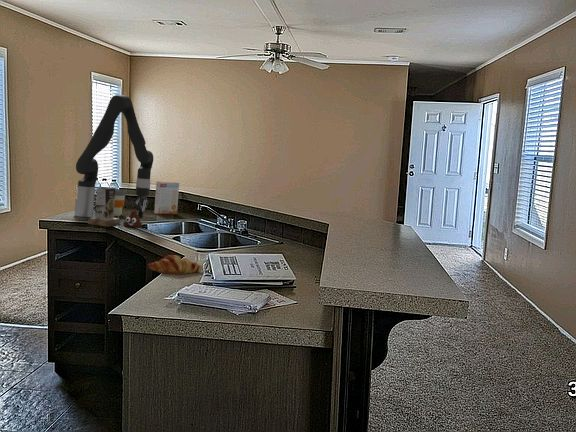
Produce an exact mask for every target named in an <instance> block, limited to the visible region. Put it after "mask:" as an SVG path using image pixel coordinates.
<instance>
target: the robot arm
mask: <svg viewBox="0 0 576 432" xmlns="http://www.w3.org/2000/svg"><path fill="white" fill-rule="evenodd" d="M121 113H122V115H123V116H124V118H125V120H126V126H127V135H128V137H129V139H130V142H131V144H132V146H133V150H134V154H135V157H136V159H137V161H138V162H139V163H140V165H139V167H138V169H137V174H136V176H137V177H136V181H135V183H136V184H135V192H134V193H135V195H136V196H137V199H136V201H135V202H134V205H135V208H136V209H135V210H136V211H138V213H137V215H138V216H139V219H143V218H144V212H145V211H146V210H147V207H148V205H149V202H150V201H149V200H148V198H147V197H149V196H150V194H151V193H150V191H151V174H152V172H151V171H152V167H153V163H154V154H153V152H152V151H150V150H147V146H146V139H145V137H144V134H143V132H142V131H141V128H140V126H139V123H138V119H137V117H136V112H135V109H134V104H133V102H132V100H131V98H130V97H129V95H125V94H115V95H113V96H111V98H110V99H109V102H108V105H107V107H106V110H105V112H104V114H103V117H102V118H101V120H100V122H99V124H98V125H97V127H96V128H95V131H94V133H93V134H92V137H91V139H90V140H89V142H88V144H87V145H86V147H85V149H84V150H83V151H82V153H81V155H80V157H78V159H77V161H76V164H75V169H76V172H77V173H78V174H80V175H83V177H82V178H81V179H80V180H78V182H77V194H76V196H77V197H76V198H75V200H74V215H73V216H75V217H79V218H92V217H94V207H95V193H96V190H95V188H96V183H97V182H98V176H99V175H98V173H99V163H98V161H97V159H95V157H96V156H97V155H98V154H99V153H100V152H101V151H102V150H104V149H105V148H106V147H107V146H108V145H109V143H110V141H111V140H112V138H113V135H114V132H115V123H116V120H117V119H118V118H119V116H120V115H121Z"/></svg>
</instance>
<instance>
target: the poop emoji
mask: <svg viewBox="0 0 576 432" xmlns="http://www.w3.org/2000/svg"><path fill="white" fill-rule="evenodd" d="M122 224H123V226H124V227H125V228H126V227H127V228H128V227H131V228H134V229H141V228H142V227H143V223H142V222H141V218H139V216H138V212H137V209H135V210H134V209H133V210H132V211H130V213H129V214H128V215H127V216H126V218H125V221H123V223H122Z"/></svg>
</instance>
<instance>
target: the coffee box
mask: <svg viewBox="0 0 576 432" xmlns="http://www.w3.org/2000/svg"><path fill="white" fill-rule="evenodd" d="M115 189H116V188H112V187H97V188H96V196H95V198H96V199H95V211H94V213H95V214H94V217H95V218H99V219H110V218H114V217H115V216H114V202H115Z"/></svg>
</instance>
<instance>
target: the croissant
mask: <svg viewBox="0 0 576 432" xmlns="http://www.w3.org/2000/svg"><path fill="white" fill-rule="evenodd" d="M147 268H148V269H149V270H151V271H153V272H157V273H160V274H168V275H185V274H191V273H192V274H193V273H199V272H202V271H203V268H204V267H203V265H200V264H199V263H197V262H194V261H192V260H190V259H189V258H185V257H184V258H181V257H180V256H179V255H175V254H169V255H166V256H165V257H164V258H160V259H159V260H158V261H153V262H151V263H147Z"/></svg>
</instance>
